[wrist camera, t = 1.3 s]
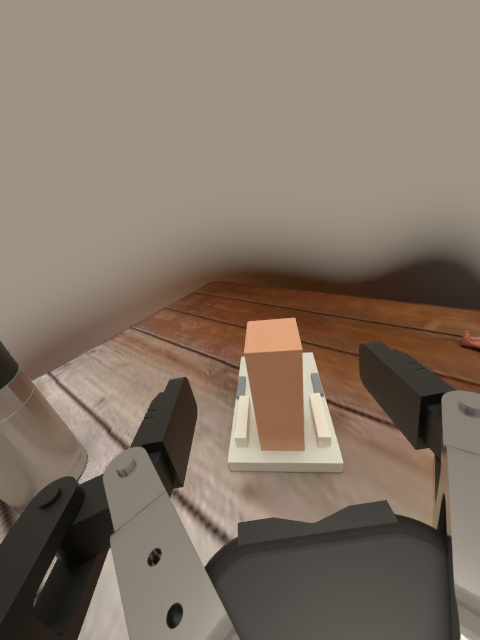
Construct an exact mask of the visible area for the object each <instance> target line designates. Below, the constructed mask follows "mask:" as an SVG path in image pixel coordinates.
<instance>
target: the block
mask: <svg viewBox="0 0 480 640" xmlns="http://www.w3.org/2000/svg"><path fill="white" fill-rule="evenodd" d="M244 356H245V362H246V368H247V373H248V379H249V385H250V390H251V396H252V402H253V407H254V413H255V419H256V424H257V430H258V436H259V441H260V447H261V451H305V443H304V399H303V355H302V346H301V341H300V337H299V332H298V328H297V324H296V319H295V318H286V319H273V320H261V321H249V322H248V324H247V332H246V341H245V349H244Z"/></svg>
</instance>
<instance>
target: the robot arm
mask: <svg viewBox="0 0 480 640" xmlns="http://www.w3.org/2000/svg"><path fill="white" fill-rule="evenodd" d="M359 368H360V377H361V381H362V383H363V385H364V386H365V388H366V389H367V390H368V391H369V393H370V394H371V395H372V396H373V398H374V399H375V400H376V401H377V403H378V404H379V405H380V406H381V407H382V409H383V410H384V411H385V412H386V414H387V415H388V416H389V417H390V419H391V420H392V421H393V422H394V424H395V425H396V426H397V427H398V428H399V430H400V431H401V432H402V433H403V435H404V436H405V437H406V438H407V440H408V441H409V442H410V443H411V445H412V446H413V447H414V448H415V449H416V450H419V449H425V448H430V449H431V450H432V452H433V453H434V459H433V524H432V527H431V526H429V525H427V524H425V523H423V522H420V521H418V520H415V519H412V518H409V517H405V516H401V515H396V514H394V513H393V511H392V509H391V507H390V506H389V504H388V502H387V500H385V501H378V502H372V503H365V504H359V505H352V506H348V507H346V508H344V509H342V510H340V511H338V512H336V513H334V514H332V515H330V516H328V517H326V518H324V519H322V520H320V521H318V522H316V523H306V522H300V521H293V520H287V519H280V518H274V517H273V518H267V519H260V520H254V521H247V522H241V523H238V537H237V538H235V539H233V540H231V541H230V542H229V543H227V544H226V545H224V546H223V547H222V548H221V549H220V550H219V551H218V552H217V553H216V554H215V555H214V556H213V557H212V558H211V559H210V560H209V562H208V563H207V565H206V566H205V567H204V566H203V564H202V562H201V560H200V558H199V556H198V554H197V552H196V550H195V548H194V546H193V544H192V542H191V540H190V538H189V536H188V534H187V532H186V530H185V528H184V526H183V524H182V522H181V520H180V518H179V516H178V514H177V512H176V510H175V508H174V506H173V504H172V502H171V500H170V498H171V493H172V489H174V488H180V487H183V485H184V480H185V475H186V470H187V465H188V460H189V455H190V450H191V445H192V440H193V435H194V430H195V425H196V420H197V404H196V401H195V398H194V395H193V392H192V390H191V387H190V384H189V381H188V379H187V378H186V377H183V378H177V379H172V380H169V382H168V384H167V386H166V389H165V391H164V392H162V393H159V394H158V395H157V396H156V397H155V398H154V400H153V401H152V402H151V404H150V406H149V408H148V410H147V411H148V412H147V413H146V415H145V417H144V420H143V421H142V423H141V425H140V427H139V429H138V432H137V434H136V436H135V438H134V440H133V442H132V444H131V446H130V448H129V449H127V450H125V451H123V452H121V453H120V454H119V455H117V456H116V457H115V458H114V459H113V460H112V461H111V462H110V463H109V465H108V466H107V468H106V470H105V472H104V474H102V475H100V476H97V477H95V478H93V479H91V480H89V481H86V482H84V483H82V484H80V485H79V483H78V482H77V480H78V478H79V477H80V475H81V474H82V472H83V470H84V468H85V465H86V462H87V451H86V450H85V448H84V447H83V446H82V444H81V443H80V442H79V440H78V439H77V438H76V437H75V435H74V434H73V433H72V431H71V430H70V429H69V428H68V426H67V425H66V424H65V423H64V421H63V420H62V419H61V418H60V416H59V415H58V414H57V413H56V411H55V410H54V409H53V407H52V406H51V405H50V404H49V402H48V401H47V400H46V399H45V397H44V396H43V395H42V394H41V392H40V391H39V390H38V389H37V387H36V386H35V385H34V384H33V382H32V381H31V380H30V379H29V377H28V376H27V375H26V374H25V372H24V371H23V370H22V369H21V367H20V366H19V365H18V364H17V362H16V361H15V360H14V359H13V357H12V356H11V355H10V353H9V352H8V351H7V349H6V348H5V347H4V345H3V344H2V342H1V341H0V499H1V500H2V501H4V502H5V503H6V504H8V505H9V506H10V507H12V508H13V509H14V510H16V511H17V512H19V513H22V514H21V515H20V517H19V518H18V520H17V521H16V523H15V524H14V526H13V527H12V528H11V530H10V531H9V533H8V534H7V536H6V537H5V538H4V540H3V541H2V543H1V544H0V640H77V639H78V636H79V633H80V631H81V628H82V625H83V622H84V619H85V616H86V613H87V610H88V608H89V605H90V602H91V599H92V596H93V593H94V590H95V587H96V584H97V582H98V579H99V576H100V573H101V570H102V567H103V564H104V561H105V559H106V556H107V553H108V550H109V548H111V550H112V555H113V560H114V565H115V570H116V575H117V580H118V585H119V590H120V595H121V600H122V605H123V610H124V615H125V620H126V625H127V629H128V634H129V639H130V640H480V394H477V393H473V392H468V391H457V390H455V389H454V388H453V387H451V386H450V385H449V384H447V383H446V382H445V381H443V380H442V379H440V378H439V377H438V376H436V375H435V374H434V373H432V372H431V371H430V370H428V369H426V368H425V367H424V366H423V365H422V364H420V363H418V362H417V361H416V360H415V359H413V358H412V357H411V356H409V355H408V354H406V353H403V352H401V351H398V350H396V349H392V350H391V349H390V348H388V347H387V346H386V345H384V344H383V343H382V342H381V341H373V342H368V343H363V344H360V346H359ZM55 556H56V557H57V558H58V559H57V561H56V563H55V565H54V567H53V569H52V571H51V573H50V575H49V577H48V579H47V581H46V583H45V585H44V587H43V589H42V591H41V593H40V595H39V597H38V599H37V601H36V603H35V605H34V599H35V596H36V593H37V591H38V588H39V586H40V584H41V582H42V580H43V578H44V576H45V574H46V572H47V570H48V569H49V567H50V565H51V563H52V561H53V559H54V557H55ZM33 605H34V607H33Z"/></svg>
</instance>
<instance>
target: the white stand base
mask: <svg viewBox="0 0 480 640" xmlns="http://www.w3.org/2000/svg"><path fill="white" fill-rule="evenodd" d="M302 355H303V399H304V443H305V451H261V447H260V441H259V436H258V430H257V424H256V419H255V413H254V407H253V402H252V396H251V390H250V385H249V379H248V373H247V368H246V362H245V357H241V365H240V372H239V380H238V387H237V395H236V402H235V410H234V418H233V425H232V433H231V440H230V448H229V456H228V465H229V468H230V471H268V472H339V473H342V472H343V460H342V456H341V453H340V449H339V445H338V442H337V438H336V435H335V431H334V428H333V424H332V420H331V417H330V413H329V410H328V406H327V403H326V399H325V395H324V392H323V388H322V385H321V381H320V378H319V374H318V371H317V367H316V363H315V360H314V356H313V353H302Z"/></svg>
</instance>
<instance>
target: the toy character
mask: <svg viewBox="0 0 480 640" xmlns="http://www.w3.org/2000/svg"><path fill="white" fill-rule="evenodd" d="M461 345H464V346H473V347H475V348H478V349H480V337H471V336H470V335H469V332H468V331H465V332H464V335H463V338H462V344H461Z"/></svg>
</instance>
